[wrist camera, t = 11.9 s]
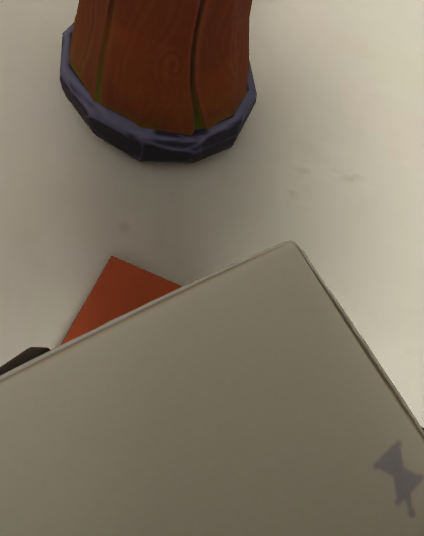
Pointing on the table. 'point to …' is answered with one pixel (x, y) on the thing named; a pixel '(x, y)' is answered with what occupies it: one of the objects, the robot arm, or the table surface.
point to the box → (213, 419)
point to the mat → (118, 295)
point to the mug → (161, 74)
